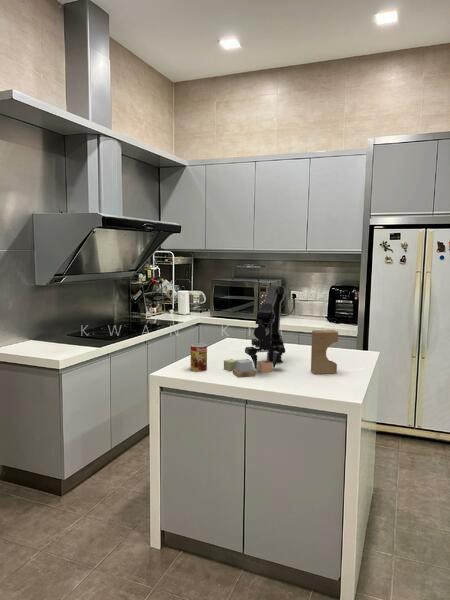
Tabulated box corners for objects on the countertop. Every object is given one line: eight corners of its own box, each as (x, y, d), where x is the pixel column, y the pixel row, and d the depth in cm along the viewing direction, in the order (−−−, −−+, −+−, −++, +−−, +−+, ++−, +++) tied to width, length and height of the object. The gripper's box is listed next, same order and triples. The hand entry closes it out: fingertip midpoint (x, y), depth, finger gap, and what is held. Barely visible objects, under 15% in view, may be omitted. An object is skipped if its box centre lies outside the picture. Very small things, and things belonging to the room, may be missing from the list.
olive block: (231, 368, 217) (232, 359, 217) (238, 370, 213) (238, 361, 213) (223, 369, 214) (223, 360, 214) (230, 371, 210) (230, 362, 210)
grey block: (248, 368, 209) (248, 359, 208) (252, 371, 203) (252, 361, 202) (236, 369, 207) (236, 359, 207) (240, 372, 201) (240, 362, 201)
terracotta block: (267, 369, 216) (267, 360, 215) (272, 372, 210) (272, 362, 210) (257, 370, 214) (257, 360, 213) (261, 373, 209) (261, 363, 208)
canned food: (200, 372, 208) (200, 347, 206) (187, 370, 212) (187, 345, 210) (210, 369, 214) (210, 344, 213) (196, 366, 218) (196, 342, 217)
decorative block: (332, 370, 214) (334, 329, 212) (337, 373, 208) (338, 331, 206) (310, 371, 212) (311, 330, 210) (314, 374, 207) (315, 332, 205)
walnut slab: (248, 373, 210) (248, 368, 210) (254, 377, 202) (254, 372, 202) (232, 374, 208) (232, 369, 207) (238, 379, 200) (238, 373, 200)
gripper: (276, 331, 221) (275, 362, 222) (241, 333, 215) (240, 364, 217) (286, 335, 210) (285, 368, 212) (249, 337, 205) (248, 370, 206)
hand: (264, 367), depth 212 cm, fingers open, 9 cm apart
